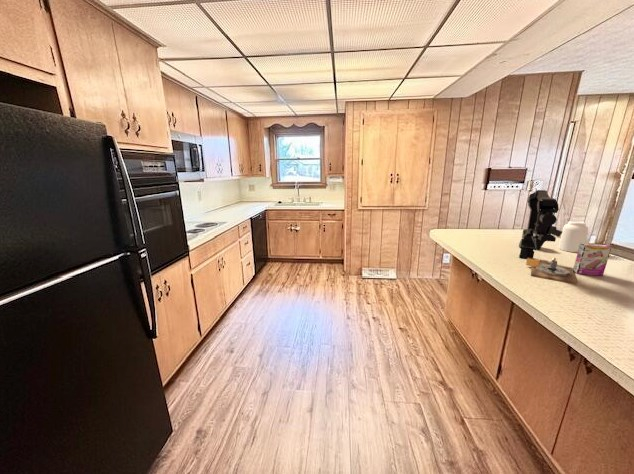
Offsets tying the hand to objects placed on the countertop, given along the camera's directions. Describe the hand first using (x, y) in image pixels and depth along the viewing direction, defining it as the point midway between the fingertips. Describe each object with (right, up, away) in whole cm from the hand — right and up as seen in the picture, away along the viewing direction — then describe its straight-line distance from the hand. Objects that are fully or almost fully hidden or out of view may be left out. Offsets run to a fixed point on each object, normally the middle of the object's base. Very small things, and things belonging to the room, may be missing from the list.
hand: (537, 249), depth 147 cm
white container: (+53, -2, +37) cm, 65 cm away
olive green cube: (+32, 0, +45) cm, 55 cm away
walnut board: (+8, -13, +1) cm, 15 cm away
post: (+8, -13, 0) cm, 15 cm away
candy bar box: (+26, -13, -2) cm, 29 cm away
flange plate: (+6, -11, +2) cm, 13 cm away
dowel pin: (+15, -11, +8) cm, 20 cm away
